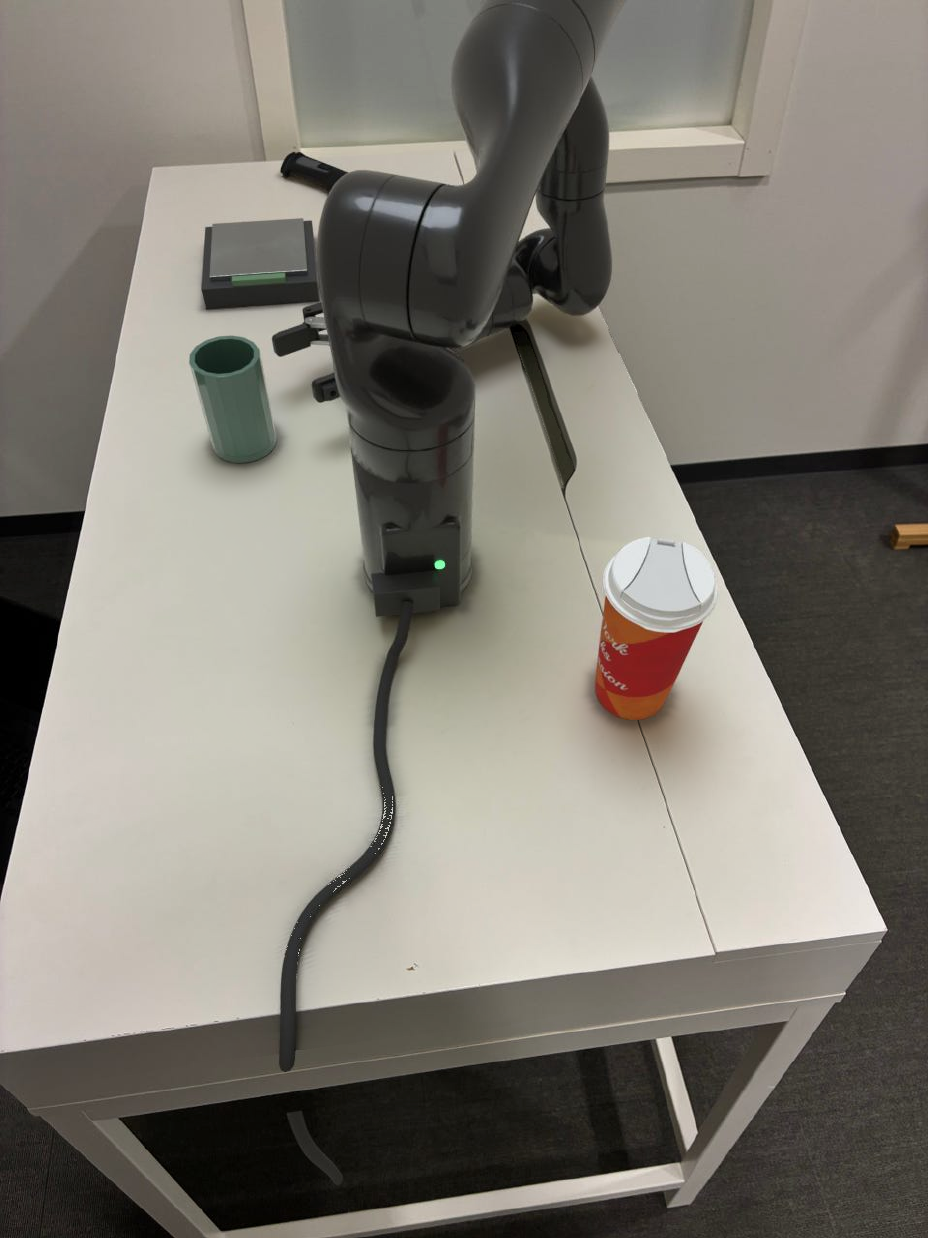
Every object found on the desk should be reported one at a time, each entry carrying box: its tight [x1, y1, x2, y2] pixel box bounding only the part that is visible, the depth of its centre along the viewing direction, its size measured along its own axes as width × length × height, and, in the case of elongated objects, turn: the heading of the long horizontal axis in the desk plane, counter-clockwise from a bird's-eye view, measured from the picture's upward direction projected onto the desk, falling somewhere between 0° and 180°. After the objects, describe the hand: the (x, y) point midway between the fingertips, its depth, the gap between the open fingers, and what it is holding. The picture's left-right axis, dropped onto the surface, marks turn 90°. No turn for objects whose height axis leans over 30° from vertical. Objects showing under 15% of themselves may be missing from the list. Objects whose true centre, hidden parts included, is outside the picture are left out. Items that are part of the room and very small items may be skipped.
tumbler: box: [188, 335, 277, 464], centre depth 83 cm, size 6×6×10 cm
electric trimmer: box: [279, 151, 349, 193], centre depth 118 cm, size 4×16×3 cm, turn 55°
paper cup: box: [594, 536, 719, 721], centre depth 64 cm, size 8×8×14 cm
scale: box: [200, 217, 321, 310], centre depth 105 cm, size 14×13×3 cm
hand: (293, 369), depth 84 cm, fingers open, 8 cm apart
